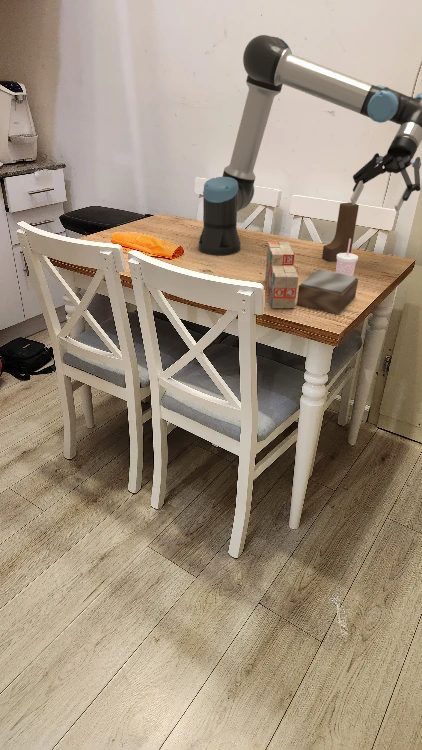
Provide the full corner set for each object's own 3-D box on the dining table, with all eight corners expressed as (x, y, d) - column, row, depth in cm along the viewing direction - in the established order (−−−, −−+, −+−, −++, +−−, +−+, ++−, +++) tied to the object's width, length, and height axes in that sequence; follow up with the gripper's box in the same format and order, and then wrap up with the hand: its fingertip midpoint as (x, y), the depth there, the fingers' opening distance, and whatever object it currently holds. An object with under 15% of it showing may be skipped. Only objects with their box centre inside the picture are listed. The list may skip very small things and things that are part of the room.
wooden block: (329, 262, 163) (337, 207, 154) (321, 258, 167) (328, 204, 157) (350, 258, 167) (359, 204, 157) (341, 255, 170) (350, 201, 161)
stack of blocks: (294, 309, 130) (299, 265, 124) (271, 309, 130) (275, 265, 124) (285, 281, 148) (288, 241, 142) (264, 280, 148) (267, 240, 142)
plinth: (296, 304, 133) (299, 283, 130) (315, 288, 143) (317, 268, 140) (339, 314, 128) (342, 293, 125) (355, 296, 138) (358, 276, 135)
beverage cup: (328, 285, 145) (335, 238, 138) (338, 279, 149) (346, 234, 142) (346, 290, 142) (354, 243, 135) (356, 285, 146) (365, 238, 138)
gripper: (449, 156, 139) (417, 219, 137) (368, 149, 153) (338, 206, 151) (447, 137, 132) (414, 203, 131) (363, 132, 147) (332, 191, 145)
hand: (373, 205), depth 141 cm, fingers open, 13 cm apart
